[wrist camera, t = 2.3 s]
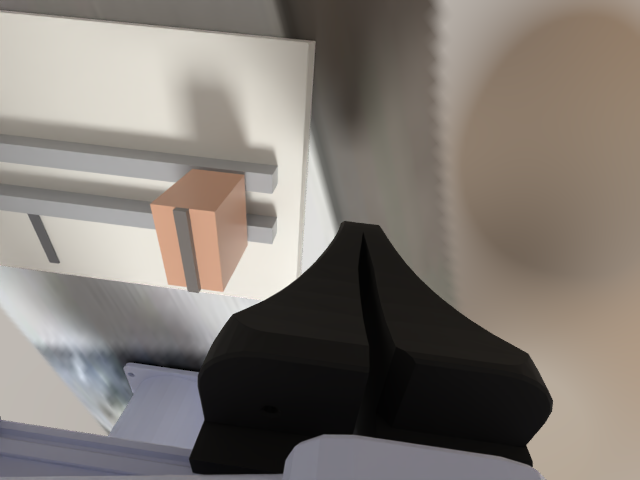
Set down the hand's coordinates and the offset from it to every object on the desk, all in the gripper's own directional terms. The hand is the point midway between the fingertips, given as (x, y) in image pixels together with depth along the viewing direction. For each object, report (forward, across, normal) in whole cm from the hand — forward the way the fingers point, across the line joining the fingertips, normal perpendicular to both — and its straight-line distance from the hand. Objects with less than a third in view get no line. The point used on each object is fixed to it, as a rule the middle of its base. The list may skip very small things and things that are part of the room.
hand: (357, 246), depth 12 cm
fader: (+2, +6, 0) cm, 6 cm away
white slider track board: (+5, +12, 0) cm, 12 cm away
